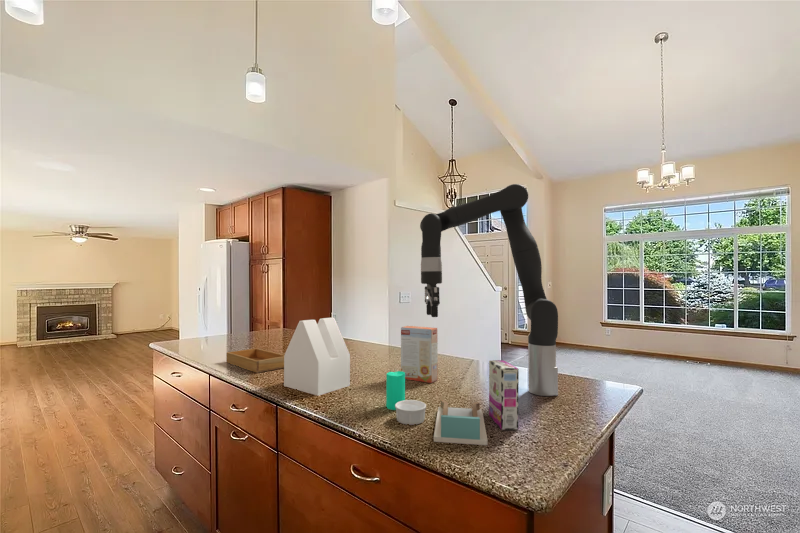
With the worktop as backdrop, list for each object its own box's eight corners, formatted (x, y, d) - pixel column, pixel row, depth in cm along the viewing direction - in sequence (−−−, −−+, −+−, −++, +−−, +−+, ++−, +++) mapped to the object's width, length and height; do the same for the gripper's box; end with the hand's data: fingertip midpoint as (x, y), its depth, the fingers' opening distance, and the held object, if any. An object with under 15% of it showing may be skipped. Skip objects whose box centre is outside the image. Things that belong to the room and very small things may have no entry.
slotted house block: (349, 385, 142) (350, 319, 142) (318, 396, 129) (318, 323, 130) (315, 377, 153) (316, 316, 154) (283, 386, 141) (284, 319, 142)
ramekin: (430, 424, 105) (430, 408, 105) (400, 427, 102) (400, 411, 102) (420, 413, 113) (420, 398, 113) (391, 416, 111) (391, 401, 111)
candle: (407, 404, 120) (407, 367, 121) (401, 411, 115) (401, 371, 115) (390, 402, 122) (390, 365, 123) (383, 408, 117) (383, 369, 117)
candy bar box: (519, 430, 100) (519, 368, 101) (501, 431, 100) (501, 368, 100) (504, 415, 111) (504, 359, 112) (488, 415, 111) (488, 359, 112)
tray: (226, 363, 180) (226, 351, 180) (256, 358, 191) (256, 347, 191) (256, 374, 159) (256, 361, 159) (288, 368, 170) (288, 355, 170)
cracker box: (438, 380, 149) (438, 327, 150) (431, 383, 144) (431, 329, 145) (407, 375, 157) (407, 325, 157) (400, 378, 152) (400, 326, 152)
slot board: (481, 412, 113) (481, 392, 113) (487, 445, 91) (487, 419, 91) (438, 410, 115) (438, 389, 115) (433, 441, 93) (433, 416, 93)
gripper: (446, 269, 128) (447, 317, 127) (437, 270, 142) (438, 313, 141) (424, 270, 127) (425, 318, 126) (417, 271, 141) (418, 314, 141)
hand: (432, 315), depth 134 cm, fingers open, 8 cm apart
